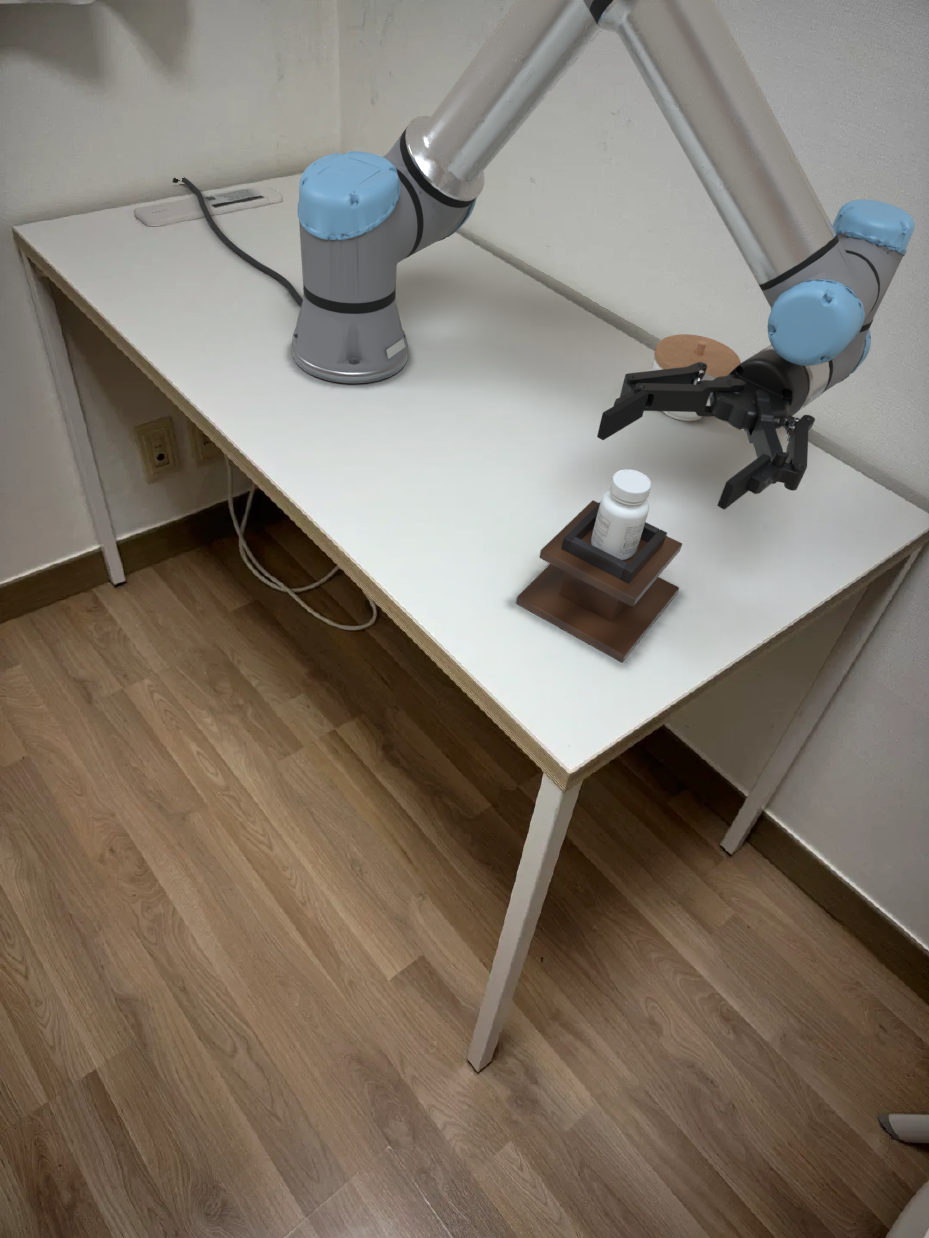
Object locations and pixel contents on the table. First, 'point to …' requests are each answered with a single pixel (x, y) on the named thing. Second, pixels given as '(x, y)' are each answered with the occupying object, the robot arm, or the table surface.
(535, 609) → the stand
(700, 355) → the trinket box
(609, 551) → the pill bottle
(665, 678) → the table surface
